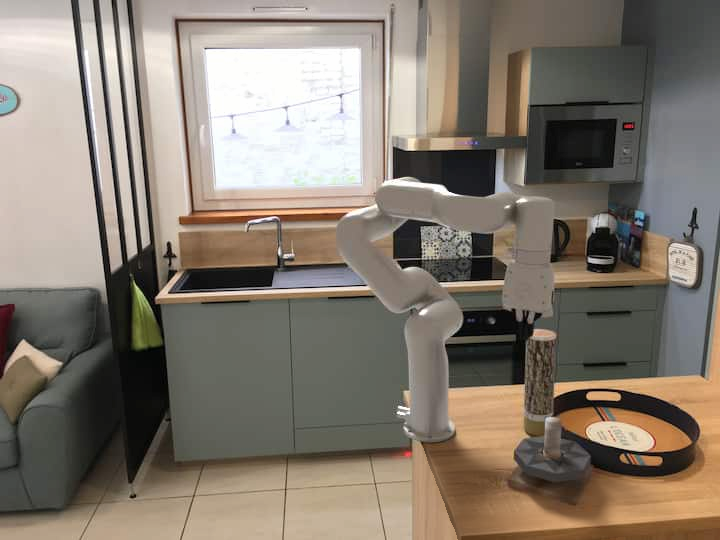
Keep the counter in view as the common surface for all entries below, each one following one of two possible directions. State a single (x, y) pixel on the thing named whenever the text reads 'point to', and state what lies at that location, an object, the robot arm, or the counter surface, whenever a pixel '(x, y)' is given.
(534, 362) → the bark-covered log
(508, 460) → the counter surface
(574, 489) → the pipe stand
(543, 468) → the grey octagonal disc
